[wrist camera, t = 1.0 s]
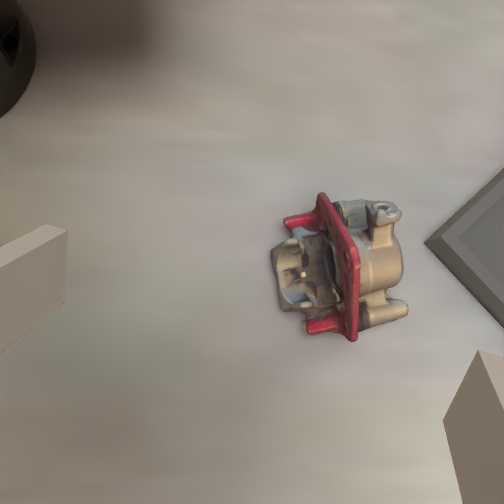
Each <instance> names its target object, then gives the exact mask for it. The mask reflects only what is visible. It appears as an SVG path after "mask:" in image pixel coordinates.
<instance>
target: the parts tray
mask: <svg viewBox="0 0 504 504" xmlns="http://www.w3.org/2000/svg"><path fill="white" fill-rule="evenodd" d="M424 244H425V245H426V246H427V247H428V248H429V249H430V250H431V251H432V252H433V253H434V254H435V255H436V256H437V257H438V258H439V260H440V261H441V262H442V263H443V264H444V265H445V266H446V267H447V268H448V269H449V270H450V271H451V272H452V273H453V275H454V276H455V277H456V278H457V279H458V280H459V281H460V282H461V283H462V284H463V285H464V286H465V287H466V288H467V289H468V291H469V292H470V293H471V294H472V295H473V296H474V297H475V298H476V299H477V300H478V301H479V302H480V303H481V304H482V305H483V307H484V308H485V309H486V310H487V311H488V312H489V313H490V314H491V315H492V316H493V317H494V318H495V319H496V320H497V322H498V323H499V324H500V325H501V326H502V327H503V328H504V169H503V170H502V171H501V172H500V173H499V174H498V175H496V176H495V177H494V178H493V179H492V180H491V181H490V182H489V183H488V184H487V185H486V186H485V187H484V188H482V189H481V190H480V191H479V192H478V193H477V194H476V195H475V196H474V197H473V198H472V199H471V200H470V201H468V202H467V203H466V204H465V205H464V206H463V207H462V208H461V209H460V210H459V211H458V212H457V213H456V214H454V215H453V216H452V217H451V218H450V219H449V220H448V221H447V222H446V223H445V224H444V225H443V226H442V227H440V228H439V229H438V230H437V231H436V232H435V233H434V234H433V235H432V236H431V237H430V238H429V239H428V240H426V241H425V242H424Z"/></svg>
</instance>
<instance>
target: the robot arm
mask: <svg viewBox="0 0 504 504" xmlns="http://www.w3.org/2000/svg"><path fill="white" fill-rule="evenodd" d="M35 52H36V50H35V38H34V33H33V30H32V27H31V24H30V22H29V20H28V17H27V16H26V14H25V12H24V11H23V9H22V8H21V6H20V5H19V4H18V2H17V1H16V0H0V117H1V116H2V115H3V114H4V113H6V112H7V111H8V110H9V109H10V108H11V107H12V106H13V105H14V104H15V103H16V101H17V100H18V99H19V97H20V96H21V95H22V93H23V92H24V90H25V88H26V86H27V84H28V82H29V80H30V77H31V75H32V71H33V67H34V63H35ZM67 235H68V230H65V229H62V228H59V227H55V226H52V225H48V224H45V225H43V226H41V227H39V228H37V229H35V230H33V231H31V232H29V233H27V234H25V235H23V236H21V237H19V238H17V239H15V240H13V241H11V242H9V243H7V244H5V245H3V246H1V247H0V353H1V352H3V351H4V350H5V349H6V348H8V347H9V346H10V345H11V344H13V343H14V342H15V341H16V340H18V339H19V338H20V337H21V336H23V335H24V334H25V333H26V332H28V331H29V330H30V329H31V328H33V327H34V326H35V325H36V324H38V323H39V322H40V321H41V320H43V319H44V318H45V317H46V316H48V315H49V314H50V313H52V312H53V311H54V310H55V309H57V308H58V307H59V306H60V305H62V304H63V303H64V292H65V273H66V254H67ZM443 423H444V428H445V432H446V436H447V440H448V444H449V448H450V452H451V456H452V460H453V464H454V469H455V473H456V477H457V481H458V485H459V489H460V493H461V497H462V501H463V504H504V357H501V356H497V355H494V354H490V353H487V352H484V351H480V350H478V351H477V353H476V355H475V357H474V359H473V361H472V363H471V365H470V367H469V369H468V371H467V373H466V375H465V377H464V379H463V381H462V383H461V385H460V387H459V389H458V391H457V393H456V395H455V397H454V399H453V401H452V403H451V405H450V407H449V409H448V411H447V413H446V415H445V417H444V419H443Z"/></svg>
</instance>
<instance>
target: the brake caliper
mask: <svg viewBox="0 0 504 504" xmlns="http://www.w3.org/2000/svg"><path fill="white" fill-rule="evenodd" d="M401 215H402V212H401V211H400V210H398V207H397V206H396V205H395V204H394V203H393V202H389V201H388V202H386V201H367V200H363V199H361V200H355V201H338V202H334V203H331V202H330V200H329V198H328V197H327V195H326V194H325V193H324V192H321V193H319V194H318V196H317V200H316V206H315V209H314V210H313V211H312V212H309V213H306V214H301V215H294V216H290V217H286V218H284V220H283V223H284V226H285V227H286V228H287V229H289V230H290V231H291V232H292V234H293V237H292V238H291V239H288V240H286V241H284V242H282V243H280V244H279V245H278V246H276V247H275V248H273V249H272V250H271V259H272V265H273V269H274V272H275V275H276V278H277V282H278V291H279V298H280V304H281V309H282V310H283V311H284V312H286V311H300V312H303V313H305V314H306V315H307V320H305V321H302V326H303V329H304V330H306V331H307V333H308V334H309V335H315V334H319V333H323V332H330V331H332V332H334V333H341V334H342V335H344V336H345V337H346V338H347V340H349V341H350V342H354V341H356V340H357V339H358V332H360V331H363V330H365V329H368V328H371V327H374V326H377V325H381V324H384V323H387V322H390V321H394V320H397V319H399V318H402V317H405V316H407V314H408V305H407V303H406V302H405V301H402V300H397V299H392V298H390V297H389V296H388V295H387V288H391V287H394V286H396V285H397V284H398V283H399V282H400V280H401V278H402V275H403V257H402V251H401V248H400V245H399V242H398V240H397V238H396V237H395V235H394V233H393V232H394V223H395V222H397V221H399V220H400V218H401Z"/></svg>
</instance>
